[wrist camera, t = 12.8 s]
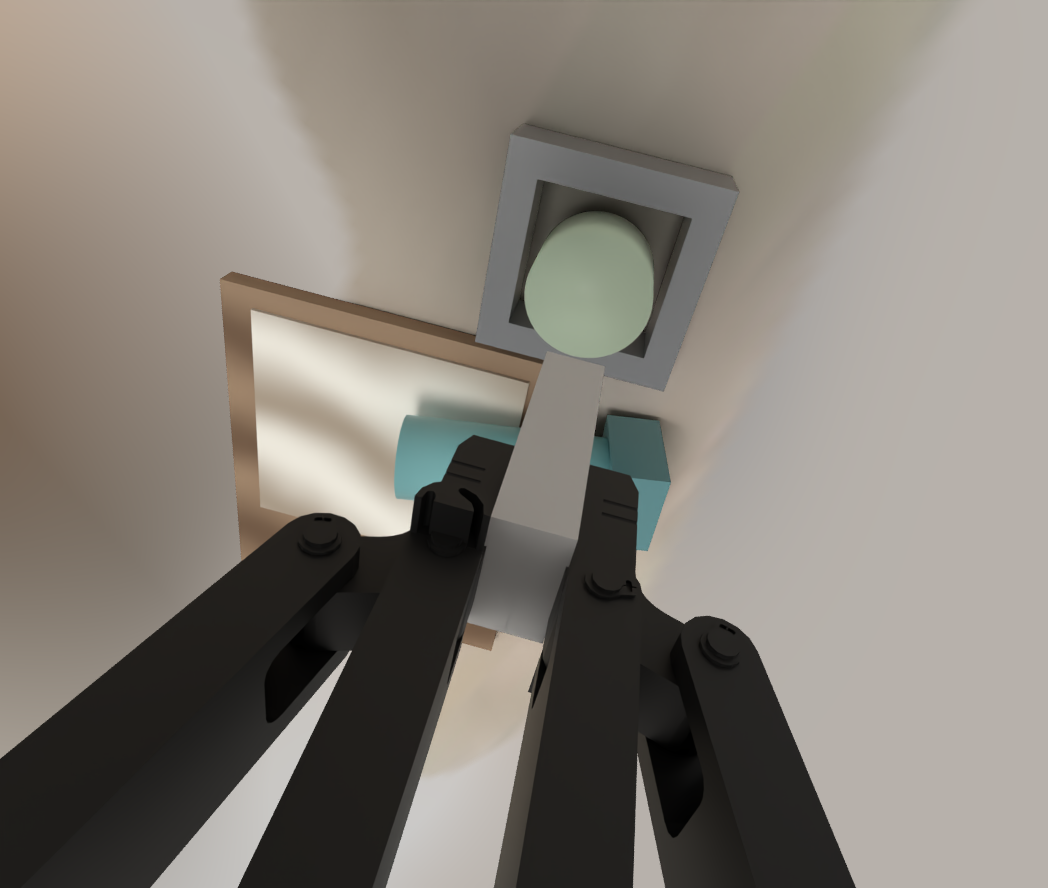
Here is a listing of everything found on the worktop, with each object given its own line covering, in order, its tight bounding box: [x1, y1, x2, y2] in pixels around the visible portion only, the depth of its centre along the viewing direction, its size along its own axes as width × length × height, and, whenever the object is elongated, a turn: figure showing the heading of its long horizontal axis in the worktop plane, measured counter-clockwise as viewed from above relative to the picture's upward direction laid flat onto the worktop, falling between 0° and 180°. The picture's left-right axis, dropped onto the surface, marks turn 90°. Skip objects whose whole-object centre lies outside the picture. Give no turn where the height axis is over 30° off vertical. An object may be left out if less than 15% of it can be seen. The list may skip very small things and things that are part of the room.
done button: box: [524, 211, 654, 358], centre depth 23 cm, size 4×4×3 cm
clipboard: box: [220, 272, 544, 651], centre depth 35 cm, size 20×16×2 cm
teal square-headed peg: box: [394, 415, 671, 551], centre depth 29 cm, size 4×4×11 cm
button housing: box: [475, 124, 739, 392], centre depth 25 cm, size 8×8×2 cm
